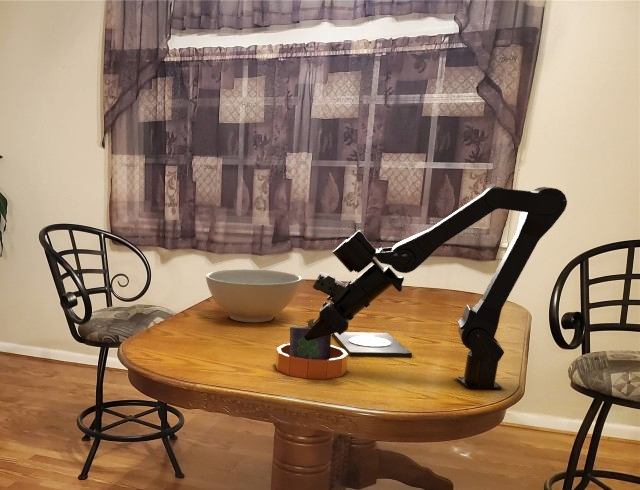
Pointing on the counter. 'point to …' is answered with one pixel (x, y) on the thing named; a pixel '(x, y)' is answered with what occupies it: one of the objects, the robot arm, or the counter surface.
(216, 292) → the decorative bowl
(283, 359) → the orange round tray
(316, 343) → the flask
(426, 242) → the robot arm
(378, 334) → the hob plate
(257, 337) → the counter surface
